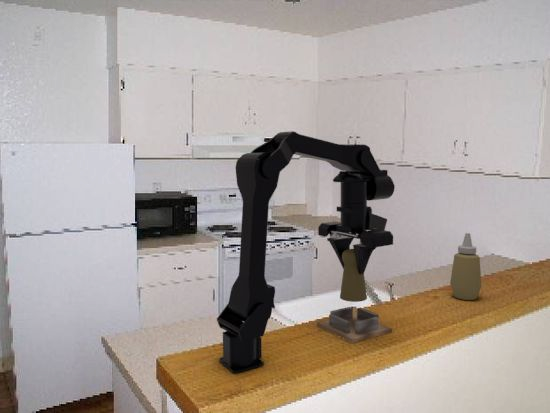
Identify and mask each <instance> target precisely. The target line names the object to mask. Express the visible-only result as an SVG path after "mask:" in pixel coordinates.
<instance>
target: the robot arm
mask: <svg viewBox="0 0 550 413" xmlns="http://www.w3.org/2000/svg"><path fill="white" fill-rule="evenodd" d="M294 155H295V156H300V157H305V158H308V159H309V158H310V159H314V160H319V161H323V162H327V163H328V164H330V165H331V167H334V168H335V169H338V170H340V171H339V172H338V174H337V175H336V176H334V178H333V179H332V181H333V182H334V183H340V206H336V212H338V213H339V212H340V221H328V222H321V223H320V224H319V225H318V230H317V232H318V233H317V234H318V235H317V236H320V237H325V238H326V237H328V236H329V237H328V238H327V240H326V241H327V242H329V244H330V245H331V247H332V249H333V251H334V252H335V255H336V257H337V259H338V260H339V263H340V265H341V267H342V269H343V270H344V263H343V261H342V253H343V252H344V251H345V250H347V249H351V245H352V242H353V240H354V239H358V240H359V243H356V244H353V245H352V249H354V253H355V258H356V263H357V268H358V272H359V274H364V275H365V271H366V268H367V266H368V265H369V260H370V258H371V256H372V254H373V251H375V250H376V248H379V247H380V248H381V247H386V246H393V245H394V235H393V233H392V232H391V231H390V230H386V227H387V223H388V218H386V217H382V216H380V215H377V214H374V213H373V210H372V207H371V206H368V201H378V200H386V199H390V198H391V197H392V196H393V195H394V192H395V188H396V187H395V184H394V183H395V182H394V181H393V178H392V177H390V176H389V175H388V170H387V169H381V168H380V167H379V165H378V163H377V161H376V159H375V158H374V155H373V153H372V151H371V148H370V147H369V146H368V145H367V144H352V143H351V144H350V143H349V144H348V143H347V144H341V143H335V142H331V141H328V140H323V139H319V138H315V137H311V136H308V135H304V134H300V133H297V131H280V132H278V133H276V134H275V135H274V136H273V137H272V138H271V139H269V140H267V141H266V142H264V143H263V144H260V145H258V146H257V147H255V148H254V149H253V150H252V151H251V152H245V153H244V154H242V155H241V156H239V157H238V159H237V160H236V163H235V177H236V178H235V179H236V185H237V188H238V190H239V193H240V196H241V198H242V211H241V212H242V214H241V230H240V231H241V233H240V251H239V267H238V271H239V272H238V276H237V278H236V279H235V281H234V283H233V284H232V286H231V290H230V292H229V293H230V294H229V298H228V299H229V300H228V303H227V304H226V305H225V307H224V309H222V311H221V312H220V314H219V315H218V316H217V318H216V322H217V325H218V327H219V328H220V329H222V330H224V331H223V332H222V356H221V357H219V359H218V360H219V362H220V363H221V364H222V365H223V366H225V367H226V369H228V370H229V371H230V372H232V373H233V374H237V373H240V372H245V371H249V370H252V369H255V368H258V367H262V366H264V365H265V362H264V361H263V360H262V356H263V355H262V353H263V352H262V345H263V344H262V342H263V341H262V337H264V336H265V331H266V330H267V329H266V328H267V326H268V322H269V320H270V318H271V316H272V312H273V309H275V308H276V305H275V301H274V300H275V294H276V288H275V286H274V285H270V284H268V282H267V279H266V276H265V274H266V258H267V243H268V242H267V240H268V220H269V203H270V201H271V199H272V197H273V195H274V193H275V191H276V190H277V188H278V185H279V184H278V183H279V178H280V174H281V172H282V171H283V170H284V169H285V168H286V167H287V166H288V165H289V164H290V163H291V160H292V159H293V156H294Z"/></svg>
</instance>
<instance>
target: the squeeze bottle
mask: <svg viewBox="0 0 550 413" xmlns="http://www.w3.org/2000/svg"><path fill="white" fill-rule="evenodd" d="M463 237H464V238H463V241H462V244H460V245H458V247H457V252H456V253H455V254H453V262H452V268H451V275H450V281H449V284H450V287H451V290H452V293H453V297H454V298H457V299H458V300H463V301H474V300H476V299H477V298H478V296H479V294H480V291H481V289H482V287H483V286H482V274H481V272H482V270H481V260H480V258H481V257H480V256H479V255H478V254H477V247H476V246H474V245H473V242H472V237H471V233H469V232H467V233H465V234H464V236H463Z"/></svg>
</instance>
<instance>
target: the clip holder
mask: <svg viewBox="0 0 550 413" xmlns="http://www.w3.org/2000/svg"><path fill="white" fill-rule="evenodd" d="M353 310H354V308H353V307H352V306H346V307H343V308H339V309H333V310H330V312H329V315H328V319H325V320H321V321H318V322H316V326H317V327H318V328H320V329H322V330H324V329H325V330H324V331H326V330H327V331H326V332H328V331H329V332H328V333H330V332H331V333H330V334H332V333H333V334H332V335H334V334H336V335H337V336H336V335H335V336H336V337H338V336H340V337H341V338H340V337H339V338H340V339H342V338H344V339H345V340H344V339H343V340H344V341H346V340H347V341H346V342H348V341H349V342H348V343H350V344H354V343H358V342H361V341H364V340H367V339H371V338H375V337H379V336H382V335H386V334H389V333H392V332H393V328H392V327H390V326H388V325H385V324H383V323H380V322H379V321H380V320H379V319H380V318H379V314H378V313H375V312H372V311H371V310H368V309H366V308H363V307H357V308H356V312H355V313H353V312H354V311H353Z"/></svg>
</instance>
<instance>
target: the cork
mask: <svg viewBox="0 0 550 413" xmlns="http://www.w3.org/2000/svg"><path fill="white" fill-rule="evenodd" d="M342 261H343V263H344V269H343V270H342V271H343V272H342V278H341V286H340V292H339V293H340V295H339V299H341V300H342V301H346V302H351V303H353V302H354V303H357V302H358V303H359V302H364V301H366V300H367V299H368V295H367V288H366V287H367V286H366V280H365V278H366V277H365V273H364V274H359V272H358V268H357V263H356V258H355V253H354V248H350V249H347V250H345V251H344V252H343V253H342Z"/></svg>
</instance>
